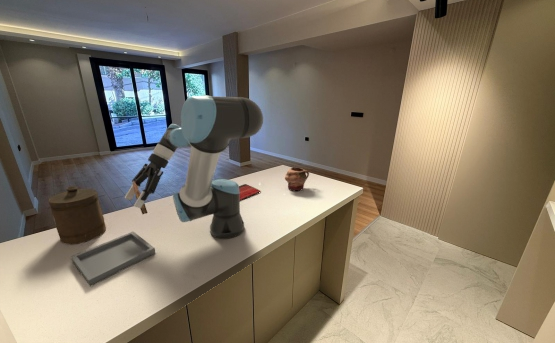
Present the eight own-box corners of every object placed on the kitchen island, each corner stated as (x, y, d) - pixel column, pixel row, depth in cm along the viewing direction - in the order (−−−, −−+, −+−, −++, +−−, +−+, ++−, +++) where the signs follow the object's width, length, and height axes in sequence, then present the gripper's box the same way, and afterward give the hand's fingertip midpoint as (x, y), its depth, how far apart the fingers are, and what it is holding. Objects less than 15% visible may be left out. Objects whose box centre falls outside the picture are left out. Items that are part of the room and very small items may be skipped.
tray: (155, 253, 84) (154, 247, 83) (90, 286, 68) (88, 280, 68) (134, 236, 94) (133, 231, 93) (72, 262, 78) (70, 256, 77)
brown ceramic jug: (300, 182, 162) (302, 164, 158) (313, 187, 153) (315, 168, 149) (280, 188, 150) (280, 169, 145) (292, 194, 141) (293, 173, 137)
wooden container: (82, 224, 101) (70, 179, 95) (114, 225, 101) (104, 180, 95) (50, 244, 87) (32, 192, 81) (86, 245, 87) (72, 194, 80)
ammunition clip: (138, 204, 99) (130, 180, 94) (143, 203, 100) (135, 179, 95) (142, 214, 91) (133, 188, 86) (147, 212, 92) (139, 187, 87)
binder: (220, 192, 137) (245, 183, 152) (220, 195, 137) (245, 186, 153) (237, 200, 127) (262, 190, 143) (237, 204, 128) (262, 193, 144)
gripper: (180, 165, 92) (151, 214, 87) (157, 156, 106) (131, 198, 101) (165, 157, 86) (133, 209, 82) (142, 148, 100) (114, 192, 95)
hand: (132, 202), depth 91 cm, fingers closed on ammunition clip, 10 cm apart
